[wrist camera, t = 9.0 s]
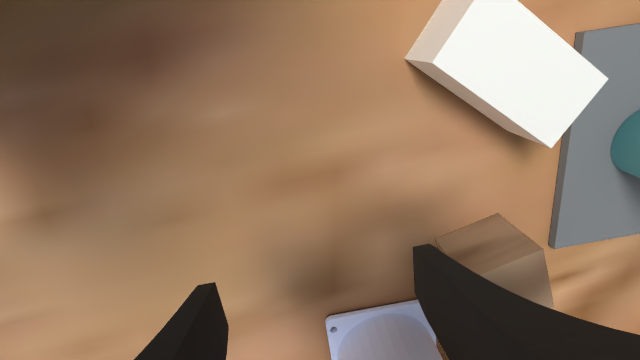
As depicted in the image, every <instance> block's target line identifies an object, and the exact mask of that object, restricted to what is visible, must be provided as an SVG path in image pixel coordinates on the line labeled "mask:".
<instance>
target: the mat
mask: <svg viewBox="0 0 640 360" xmlns="http://www.w3.org/2000/svg"><path fill="white" fill-rule="evenodd" d="M574 49H575V50H576V51H577V52H578V53H579V54H580V55H582V56H583V57H584V58H585V59H586V60H587V61H589V62H590V63H591V64H592V65H593V66H594V67H596V68H597V69H598V70H599V71H600V72H601V73H603V74H604V75H605V76H606V77H607V78H608V80H607V81H606V83H605V84H604V85H603V86H602V88H601V89H600V90H599V91H598V92H597V94H596V95H595V96H594V97H593V98H592V100H591V101H590V102H589V103H588V104H587V106H586V107H585V108H584V109H583V111H582V112H581V113H580V114H579V115H578V117H577V118H576V119H575V120H574V121H573V123H572V124H571V125H570V126H569V127H568V129H567V130H566V131H565V132H564V133H563V136H562V144H561V151H560V159H559V167H558V174H557V182H556V190H555V197H554V205H553V212H552V220H551V228H550V235H549V243H548V245H550V246H551V247H552V248H554V249H557V248H563V247H568V246H574V245H579V244H585V243H590V242H596V241H601V240H607V239H612V238H618V237H623V236H629V235H634V234H639V233H640V178H638V177H636V176H633V175H631V174H628V173H626V172H624V171H621V170H619V169H618V168H617V167H616V166H615V165H614V163H613V161H612V158H611V146H612V142H613V139H614V137H615V135H616V133H617V131H618V129H619V128H620V127H621V125H622V124H623V123H624V122H625V121H626V120H627V119H628V118H629V117H630V116H631V115H632V114H634V113H635V112H637V111H638V110H640V23H637V24H630V25H623V26H617V27H610V28H603V29H597V30H590V31H584V32H577V33H576V37H575V44H574Z"/></svg>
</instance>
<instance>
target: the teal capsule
mask: <svg viewBox="0 0 640 360" xmlns="http://www.w3.org/2000/svg"><path fill="white" fill-rule="evenodd" d="M611 158H612V161H613V163H614V165H615V166H616V167H617V168H618V169H619V170H621V171H624V172H626V173H628V174H631V175H633V176H636V177H638V178H640V110H638V111H637V112H635V113H634V114H632V115H631V116H630V117H629V118H628V119H627V120H626V121H625V122H624V123H623V124H622V125H621V127H620V128H619V129H618V131H617V133H616V135H615V137H614V139H613V142H612V146H611Z"/></svg>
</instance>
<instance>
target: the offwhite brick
mask: <svg viewBox="0 0 640 360" xmlns="http://www.w3.org/2000/svg"><path fill="white" fill-rule="evenodd" d="M405 60H407V61H408V62H410V63H411V64H412V65H414V66H415V67H417V68H418V69H420V70H421V71H422V72H424V73H425V74H427V75H428V76H430V77H431V78H432V79H434V80H435V81H437V82H438V83H439V84H441V85H442V86H444V87H445V88H447V89H448V90H449V91H451V92H452V93H454V94H455V95H457V96H458V97H459V98H461V99H462V100H464V101H465V102H467V103H468V104H469V105H471V106H472V107H474V108H475V109H477V110H478V111H479V112H481V113H482V114H484V115H485V116H487V117H488V118H489V119H491V120H492V121H494V122H495V123H496V124H498V125H499V126H501V127H502V128H504V129H505V130H506V131H509V132H511V133H514V134H516V135H519V136H521V137H524V138H526V139H529V140H531V141H534V142H536V143H539V144H541V145H544V146H547V147H549V148H552V147H553V146H554V144H555V143H556V142H557V141H558V140H559V138H560V137H561V136H562V135H563V133H564V132H565V131H566V130H567V129H568V127H569V126H570V125H571V124H572V123H573V121H574V120H575V119H576V118H577V117H578V115H579V114H580V113H581V112H582V111H583V109H584V108H585V107H586V106H587V104H588V103H589V102H590V101H591V100H592V98H593V97H594V96H595V95H596V94H597V92H598V91H599V90H600V89H601V88H602V86H603V85H604V84H605V83H606V81H607V80H608V78H607V77H606V76H605V75H604V74H603V73H601V72H600V71H599V70H598V69H597V68H596V67H594V66H593V65H592V64H591V63H590V62H589V61H587V60H586V59H585V58H584V57H583V56H582V55H580V54H579V53H578V52H577V51H576V50H575V49H573V48H572V47H571V46H570V45H569V44H568V43H566V42H565V41H564V40H563V39H562V38H561V37H559V36H558V35H557V34H556V33H555V32H554V31H552V30H551V29H550V28H549V27H548V26H547V25H545V24H544V23H543V22H542V21H541V20H540V19H538V18H537V17H536V16H535V15H534V14H533V13H531V12H530V11H529V10H528V9H527V8H526V7H524V6H523V5H522V4H521V3H520V2H519V1H517V0H442V1H441V3H440V4H439V6H438V7H437V9H436V11H435V12H434V14H433V15H432V17H431V18H430V20H429V21H428V23H427V24H426V26H425V28H424V29H423V31H422V32H421V34H420V35H419V37H418V38H417V40H416V42H415V43H414V45H413V46H412V48H411V49H410V51H409V52H408V54H407V55H406V57H405Z"/></svg>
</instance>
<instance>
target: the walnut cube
mask: <svg viewBox="0 0 640 360" xmlns="http://www.w3.org/2000/svg"><path fill="white" fill-rule="evenodd" d="M435 240H436V243H437V246H438V249H439V250H440V251H441V252H443V253H444V254H446V255H447V256H449V257H451V258H452V259H454V260H455V261H457V262H458V263H460V264H462V265H463V266H465V267H467V268H468V269H470V270H471V271H473V272H475V273H477V274H478V275H480V276H482V277H484V278H485V279H487V280H489V281H491V282H493V283H495V284H497V285H498V286H500V287H502V288H504V289H506V290H508V291H510V292H512V293H515V294H517V295H519V296H521V297H524V298H526V299H528V300H530V301H533V302H535V303H537V304H540V305H542V306H545V307H548V308H551V307H554V303H553V298H552V292H551V287H550V282H549V276H548V271H547V266H546V260H545V255H544V250H543V248H541V247H540V246H539V245H538V244H536V243H535V242H534V241H533V240H531V239H530V238H529V237H527V236H526V235H525V234H524V233H522V232H521V231H520V230H519V229H517V228H516V227H515V226H514V225H512V224H511V223H510V222H508V221H507V220H506V219H505V218H503V217H502V216H501V215H500V214H498V213H497V214H494V215H492V216H489V217H487V218H484V219H482V220H480V221H477V222H475V223H472V224H470V225H468V226H465V227H463V228H460V229H458V230H456V231H453V232H451V233H448V234H446V235H444V236H441V237H439V238H436V239H435Z"/></svg>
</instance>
